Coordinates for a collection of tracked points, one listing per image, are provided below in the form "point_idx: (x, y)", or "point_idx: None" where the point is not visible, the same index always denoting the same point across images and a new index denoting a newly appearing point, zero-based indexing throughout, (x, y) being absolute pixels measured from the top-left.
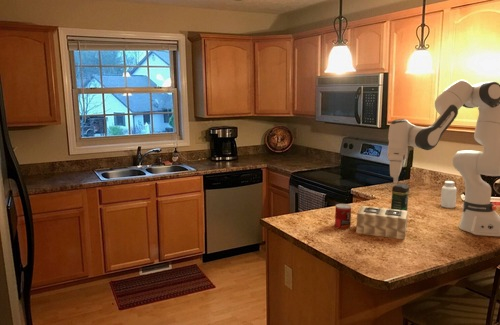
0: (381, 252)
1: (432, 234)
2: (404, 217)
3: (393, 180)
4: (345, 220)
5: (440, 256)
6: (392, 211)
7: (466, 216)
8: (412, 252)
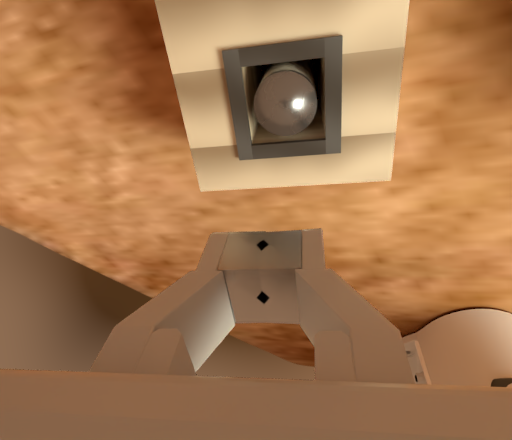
0: (14, 82)
1: (349, 234)
2: (224, 181)
3: (201, 258)
4: None
5: (137, 260)
6: (304, 93)
7: (466, 371)
8: (107, 188)
